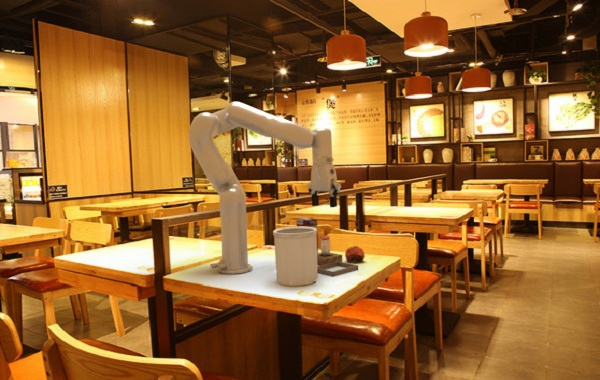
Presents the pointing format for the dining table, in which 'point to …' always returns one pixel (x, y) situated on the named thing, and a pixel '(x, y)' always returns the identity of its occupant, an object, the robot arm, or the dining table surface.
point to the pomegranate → (354, 254)
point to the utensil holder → (296, 255)
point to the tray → (338, 272)
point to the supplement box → (308, 224)
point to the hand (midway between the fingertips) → (324, 206)
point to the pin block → (328, 259)
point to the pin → (325, 246)
